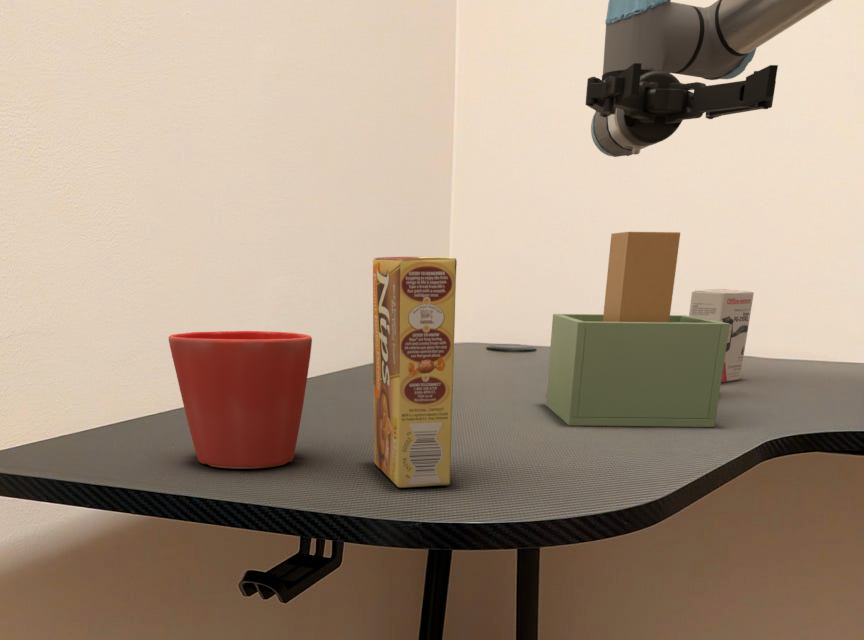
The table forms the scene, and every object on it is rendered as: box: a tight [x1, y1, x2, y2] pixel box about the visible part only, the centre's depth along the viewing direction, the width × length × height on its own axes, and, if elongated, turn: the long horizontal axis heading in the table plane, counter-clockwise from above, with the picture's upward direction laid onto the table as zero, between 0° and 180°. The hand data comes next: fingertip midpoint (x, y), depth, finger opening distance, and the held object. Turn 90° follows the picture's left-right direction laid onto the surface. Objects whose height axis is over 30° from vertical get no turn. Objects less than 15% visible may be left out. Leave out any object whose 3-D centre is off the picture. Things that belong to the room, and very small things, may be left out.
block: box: [603, 231, 681, 322], centre depth 93 cm, size 5×7×17 cm
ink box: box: [688, 288, 754, 383], centre depth 124 cm, size 8×5×12 cm, turn 134°
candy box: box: [372, 256, 458, 489], centre depth 66 cm, size 9×4×15 cm, turn 13°
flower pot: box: [168, 330, 313, 470], centre depth 72 cm, size 11×11×10 cm
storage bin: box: [545, 313, 730, 428], centre depth 95 cm, size 15×14×10 cm
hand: (704, 79), depth 91 cm, fingers open, 13 cm apart
